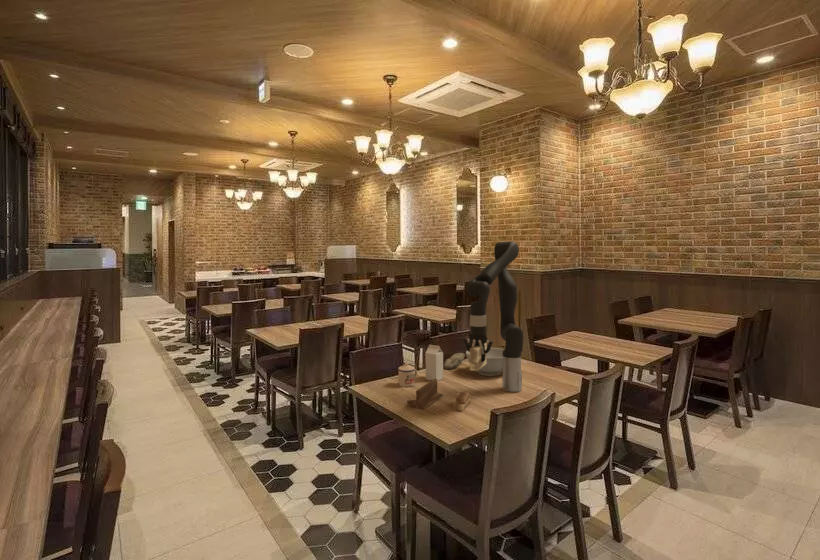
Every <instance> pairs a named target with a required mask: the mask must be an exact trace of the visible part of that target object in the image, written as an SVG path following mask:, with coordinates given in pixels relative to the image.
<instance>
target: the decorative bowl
mask: <svg viewBox="0 0 820 560" xmlns="http://www.w3.org/2000/svg"><path fill="white" fill-rule="evenodd" d="M504 349H505V348H499V347H491V349H490V351H489V352H488V353H487V364H486V365H484V366H483V367H482V368H481V369H480V370H478V371H477V372H478V374H479V375H481V376H485V377H486V376H488V377H495V376H499V375H500V374H501V372H503V350H504ZM465 357H466V358H467V361H468V363H469V364H470V352H468V351H467V350H466V351H465Z"/></svg>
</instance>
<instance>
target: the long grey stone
mask: <svg viewBox="0 0 820 560" xmlns="http://www.w3.org/2000/svg"><path fill="white" fill-rule="evenodd" d="M465 358H466V353H464V352H457V353H454V354H453V355H451V356H450V357H449V358H446V359H445V361H444V362H443V368H445V370H453V369H456V368H457V367H459V366H460V365H461V364H462V362H463V361H464V359H465ZM458 365H459V366H458Z"/></svg>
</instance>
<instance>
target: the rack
mask: <svg viewBox="0 0 820 560" xmlns="http://www.w3.org/2000/svg"><path fill="white" fill-rule="evenodd" d="M443 396H444V394H443V393H440V392H439V393H438V381H437V379H433V380H432V381H431V380H429V381H428V382H427V383H426V384H424V385H423V386H421V387H420V388H418V389H417V390H416V391H415V399H410V398H409V399H408V400H407V401H406V403H407V405H406V407H412V408H416V409H418V410H424V411H425V410H427V409H428V408H429V407H431V406H432V405H433V404H434V403H435V402H437V401H439V400H440V398H442V397H443Z"/></svg>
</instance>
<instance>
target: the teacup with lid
mask: <svg viewBox="0 0 820 560" xmlns="http://www.w3.org/2000/svg"><path fill="white" fill-rule="evenodd" d="M397 371H398V386H399V387H403V388H410V386H411V387H413V385H414V386H415V384H416V377H417V376H418V371H417V369H416V368H415V366H413V365H410V364H409V363H408V362H404V364H403V365H401V366H399V367H398V368H397Z"/></svg>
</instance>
